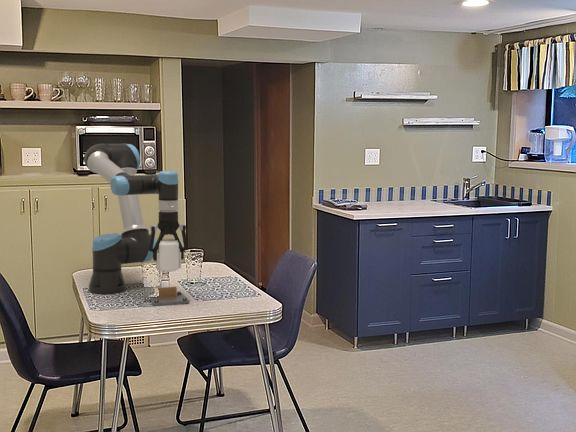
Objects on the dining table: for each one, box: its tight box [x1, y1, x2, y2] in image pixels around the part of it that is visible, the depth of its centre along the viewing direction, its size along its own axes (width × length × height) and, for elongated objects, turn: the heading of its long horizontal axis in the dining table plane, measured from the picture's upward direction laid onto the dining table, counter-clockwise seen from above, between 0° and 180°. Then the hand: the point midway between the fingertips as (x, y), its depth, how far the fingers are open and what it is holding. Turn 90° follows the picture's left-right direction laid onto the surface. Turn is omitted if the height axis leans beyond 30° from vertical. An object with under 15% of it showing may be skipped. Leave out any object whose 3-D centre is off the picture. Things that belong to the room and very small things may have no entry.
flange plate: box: [149, 286, 190, 307], centre depth 279 cm, size 14×14×4 cm
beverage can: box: [157, 238, 180, 273], centre depth 276 cm, size 8×8×12 cm
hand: (168, 268), depth 277 cm, fingers closed on beverage can, 8 cm apart
